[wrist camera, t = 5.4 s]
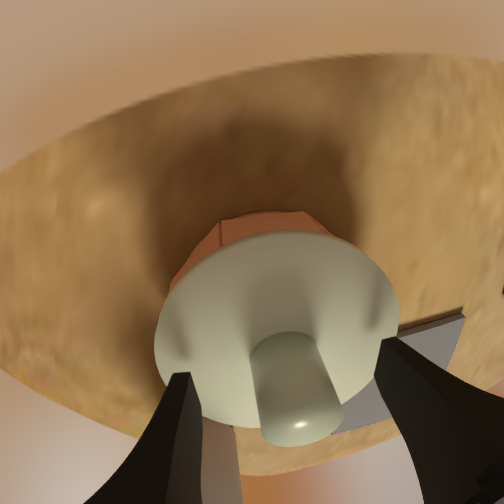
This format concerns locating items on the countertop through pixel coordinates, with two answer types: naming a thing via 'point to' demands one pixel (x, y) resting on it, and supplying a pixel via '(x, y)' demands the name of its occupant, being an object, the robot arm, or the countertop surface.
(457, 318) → the mat
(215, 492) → the beverage can
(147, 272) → the countertop surface
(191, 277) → the lid
